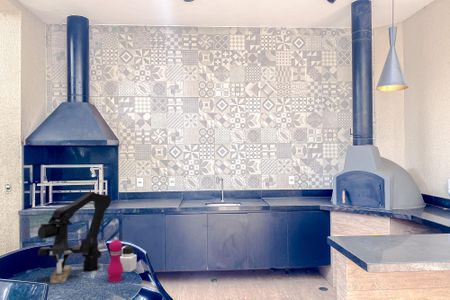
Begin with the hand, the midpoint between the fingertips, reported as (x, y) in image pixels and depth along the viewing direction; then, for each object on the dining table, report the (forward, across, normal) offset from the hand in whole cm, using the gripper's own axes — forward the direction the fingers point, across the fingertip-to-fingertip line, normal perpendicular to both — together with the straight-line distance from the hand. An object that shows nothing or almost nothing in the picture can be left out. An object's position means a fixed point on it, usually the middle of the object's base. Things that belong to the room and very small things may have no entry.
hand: (60, 268), depth 164 cm
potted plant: (+5, +31, +7) cm, 32 cm away
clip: (+2, 0, 0) cm, 3 cm away
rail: (+5, 0, +2) cm, 6 cm away
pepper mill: (+5, +25, -8) cm, 27 cm away
